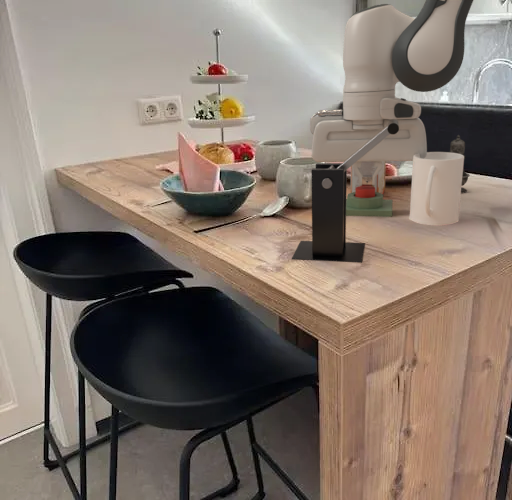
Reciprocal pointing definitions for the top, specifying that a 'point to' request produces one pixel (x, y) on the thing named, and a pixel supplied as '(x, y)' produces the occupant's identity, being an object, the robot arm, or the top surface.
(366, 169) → the cracker box
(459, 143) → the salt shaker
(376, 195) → the button block
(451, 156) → the mug
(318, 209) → the lever bracket
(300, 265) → the top surface
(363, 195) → the button
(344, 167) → the press lever
